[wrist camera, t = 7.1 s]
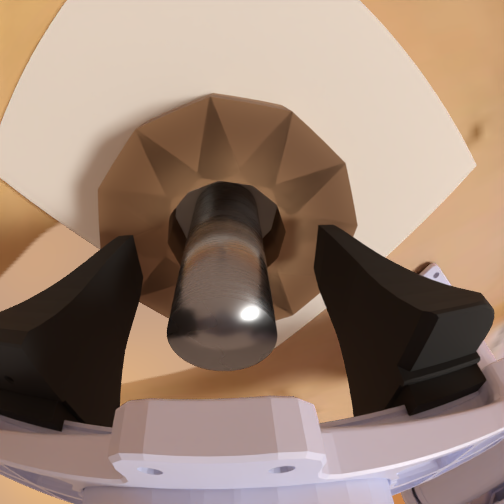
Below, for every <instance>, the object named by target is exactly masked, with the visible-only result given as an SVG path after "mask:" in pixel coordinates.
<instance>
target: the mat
mask: <svg viewBox="0 0 504 504" xmlns="http://www.w3.org/2000/svg"><path fill="white" fill-rule="evenodd" d="M212 93H217V94H224V95H231V96H237V97H243V98H249V99H254V100H260V101H265V102H270V103H275V104H279V105H283V106H284V107H286V108H288V109H289V110H291V111H293V113H295V114H296V115H297V116H298V117H299V118H300V119H301V120H302V121H303V122H304V123H305V124H306V125H307V126H309V127H310V128H311V129H312V130H313V131H314V132H315V133H316V134H317V135H318V136H319V137H320V138H321V139H322V140H323V141H324V142H325V143H326V144H327V145H328V146H329V147H330V148H331V149H332V150H333V151H334V152H335V153H336V154H337V155H338V156H339V157H340V158H341V159H342V160H343V161H344V162H345V163H346V167H347V172H348V177H349V181H350V186H351V191H352V197H353V202H354V207H355V213H356V219H357V225H358V226H357V229H356V231H355V234H354V236H353V237H354V238H355V239H357V240H358V241H360V242H361V243H363V244H364V245H366V246H367V247H369V248H370V249H372V250H374V251H375V252H377V253H378V254H380V255H382V256H383V257H386V256H387V255H389V254H390V253H391V252H392V251H393V250H394V249H395V248H396V247H397V246H398V245H399V244H400V243H401V242H403V241H404V240H405V239H406V238H407V237H408V236H409V235H410V234H411V233H412V232H413V231H414V230H415V229H416V228H417V227H418V226H419V225H420V224H421V223H422V222H423V221H424V220H425V219H426V218H427V217H428V216H429V215H430V214H431V213H432V212H433V211H434V210H435V209H436V208H437V207H438V206H439V205H440V204H441V203H442V202H443V201H444V200H445V199H446V198H447V197H448V196H449V195H450V194H451V193H452V192H453V191H454V190H455V189H456V187H457V186H458V185H459V184H460V183H461V182H462V181H463V180H464V179H465V178H466V177H467V176H468V174H469V173H470V172H471V171H472V170H473V169H474V168H475V167H476V166H477V165H476V163H475V161H474V159H473V157H472V155H471V153H470V151H469V149H468V147H467V145H466V143H465V141H464V140H463V138H462V136H461V134H460V132H459V130H458V129H457V127H456V125H455V123H454V122H453V120H452V118H451V117H450V115H449V113H448V112H447V110H446V108H445V107H444V105H443V104H442V102H441V100H440V99H439V97H438V96H437V94H436V93H435V91H434V90H433V88H432V87H431V85H430V84H429V82H428V81H427V80H426V78H425V77H424V75H423V74H422V73H421V71H420V70H419V68H418V67H417V66H416V64H415V63H414V62H413V61H412V59H411V58H410V57H409V55H408V54H407V53H406V52H405V50H404V49H403V48H402V47H401V45H400V44H399V43H398V42H397V40H396V39H395V38H394V37H393V36H392V35H391V33H390V32H389V31H388V30H387V29H386V28H385V27H384V25H383V24H382V23H381V22H380V21H379V20H378V19H377V18H376V17H375V16H374V15H373V14H372V13H371V11H370V10H369V9H368V8H367V7H366V6H365V5H364V4H363V3H362V2H361V1H360V0H67V1H66V2H65V4H64V5H63V6H62V8H61V9H60V11H59V12H58V14H57V15H56V17H55V18H54V20H53V21H52V23H51V24H50V26H49V27H48V29H47V31H46V32H45V34H44V35H43V37H42V39H41V40H40V42H39V44H38V46H37V47H36V49H35V51H34V53H33V54H32V56H31V58H30V60H29V62H28V64H27V66H26V68H25V69H24V71H23V73H22V75H21V78H20V80H19V82H18V84H17V86H16V88H15V90H14V92H13V95H12V97H11V99H10V102H9V104H8V106H7V109H6V111H5V114H4V116H3V119H2V121H1V124H0V178H1V179H2V180H4V181H5V182H6V183H7V184H9V185H10V186H11V187H13V188H14V189H15V190H16V191H18V192H19V193H20V194H22V195H23V196H24V197H26V198H27V199H28V200H30V201H31V202H32V203H34V204H35V205H37V206H38V207H39V208H41V209H42V210H43V211H45V212H46V213H48V214H49V215H50V216H52V217H53V218H55V219H56V220H57V221H59V222H60V223H62V224H63V225H65V226H66V227H67V228H69V229H70V230H72V231H73V232H75V233H76V234H78V235H79V236H81V237H82V238H84V239H85V240H87V241H88V242H90V243H91V244H93V245H94V246H96V247H97V248H99V249H100V235H99V216H98V188H99V186H100V185H101V183H102V181H103V179H104V178H105V176H106V174H107V173H108V171H109V169H110V168H111V166H112V164H113V163H114V161H115V160H116V158H117V156H118V155H119V153H120V152H121V150H122V149H123V147H124V145H125V144H126V142H127V141H128V139H129V138H130V136H131V135H132V133H133V132H134V130H135V129H136V128H138V127H139V126H141V125H142V124H144V123H145V122H147V121H148V120H150V119H152V118H154V117H156V116H159V115H161V114H163V113H165V112H168V111H170V110H172V109H174V108H177V107H179V106H182V105H184V104H186V103H189V102H191V101H194V100H196V99H199V98H201V97H204V96H207V95H209V94H212ZM219 182H225V181H217V182H214V183H212V184H209V185H206V186H203V187H201V188H198V189H196V190H193V191H190V192H188V193H187V194H186V196H185V197H184V198H183V199H182V201H181V202H180V203H179V204H178V206H177V207H176V219H177V221H178V223H179V225H180V227H181V228H182V230H183V232H184V234H185V236H186V238H187V236H188V232H189V228H190V224H191V220H192V216H193V212H194V209H195V205H196V201H197V199H198V197H199V195H200V194H201V193H202V192H203V191H204V190H205V189H206V188H207V187H209V186H210V185H213V184H215V183H219ZM237 184H239V183H237ZM240 185H242V186H244V187H245V188H246V189H248V190H249V191H250V192H251V194H252V195H253V197H254V198H255V201H256V204H257V209H258V215H259V221H260V227H261V233H262V238H263V237H264V236H265V235H266V234H267V233H268V232H269V231H270V230H271V228H272V224H273V220H274V217H275V213H276V209H277V205H276V204H275V203H274V202H273V201H271V200H270V199H269V198H268V197H266V196H265V195H264V194H263V193H261V192H260V191H259V190H258V189H256V188H255V187H254V186H252V185H245V184H240ZM325 309H326V306H325V304H324V301H323V299H322V296H321V294H320V293H319V294H318V295H317V296H316V297H315V298H313V299H312V300H311V301H310V302H309V303H307V304H306V305H305V306H304V307H303V308H301V309H300V310H299V311H298V312H297V313H295V314H294V315H293V316H290V317H286V318H283V319H280V320H276V327H277V335H278V336H277V342H276V345H275V347H274V349H275V348H276V347H277V346H279V345H280V344H281V343H283V342H284V341H285V340H287V339H288V338H289V337H291V336H292V335H293V334H294V333H296V332H297V331H298V330H300V329H301V328H302V327H304V326H305V325H306V324H307V323H309V322H310V321H311V320H312V319H314V318H315V317H316V316H317V315H319V314H320V313H321V312H322V311H324V310H325Z"/></svg>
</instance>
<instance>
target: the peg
mask: <svg viewBox="0 0 504 504" xmlns="http://www.w3.org/2000/svg"><path fill="white" fill-rule="evenodd" d="M277 336H278V335H277V327H276V320H275V314H274V308H273V301H272V295H271V289H270V282H269V276H268V270H267V264H266V258H265V251H264V245H263V239H262V233H261V227H260V221H259V215H258V209H257V204H256V201H255V198H254V197H253V195H252V194H251V192H250V191H249V190H248V189H246V188H245V187H244V186H242V185H240V184H237V183H232V182H219V183H215V184H213V185H210V186H209V187H207V188H206V189H205V190H204V191H203V192H202V193H201V194H200V195H199V197H198V199H197V201H196V205H195V209H194V212H193V216H192V220H191V224H190V228H189V232H188V236H187V240H186V244H185V249H184V253H183V257H182V261H181V266H180V270H179V274H178V279H177V283H176V288H175V293H174V297H173V302H172V307H171V312H170V317H169V322H168V327H167V338H168V342H169V344H170V346H171V348H172V349H173V350H174V352H175V353H176V354H177V355H178V356H180V357H181V358H182V359H183V360H185V361H187V362H189V363H190V364H192V365H195V366H197V367H200V368H204V369H208V370H214V371H233V370H239V369H244V368H247V367H250V366H253V365H255V364H257V363H259V362H260V361H262V360H263V359H265V358H266V357H267V356H268V355H269V354H270V353H271V352H272V350H273V349H274V347H275V345H276V342H277Z"/></svg>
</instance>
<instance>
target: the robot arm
mask: <svg viewBox="0 0 504 504" xmlns="http://www.w3.org/2000/svg"><path fill="white" fill-rule="evenodd" d="M314 272H315V277H316V281H317V284H318V288H319V291H320V294H321V296H322V299H323V301H324V304H325V306H326V308H327V311H328V313H329V316H330V318H331V321H332V323H333V326H334V328H335V331H336V334H337V337H338V340H339V343H340V347H341V351H342V355H343V359H344V364H345V368H346V373H347V378H348V383H349V388H350V394H351V400H352V407H353V414H354V417H352V418H347V419H341V420H336V421H330V422H325V423H319V421H318V417H317V413H316V409H315V406H314V405H313V404H311V403H309V402H306V401H304V400H301V399H299V398H296V397H294V396H260V397H246V398H226V399H152V398H151V399H141V400H131V401H128V402H126V403H125V404H123V405H122V406H120V391H121V379H122V369H123V362H124V354H125V349H126V344H127V341H128V337H129V333H130V330H131V326H132V323H133V320H134V317H135V313H136V310H137V307H138V303H139V300H140V295H141V290H142V283H143V274H142V270H141V266H140V262H139V258H138V254H137V250H136V245H135V241H134V237H133V235H124V236H118V237H116V238H115V239H113V240H112V241H111V242H109V243H108V244H107V245H105V246H104V247H103V248H102V249H100V250H99V251H98V252H97V253H95V254H94V255H93V256H92V257H91V258H89V259H88V260H87V261H86V262H84V263H83V264H82V265H80V266H79V267H78V268H76V269H75V270H74V271H72V272H71V273H70V274H69V275H67V276H66V277H64V278H63V279H61V280H60V281H58V282H57V283H55V284H54V285H52V286H51V287H49V288H48V289H46V290H44V291H42V292H40V293H39V294H37V295H35V296H33V297H32V298H30V299H28V300H26V301H24V302H22V303H20V304H18V305H15V306H13V307H11V308H9V309H6V310H4V311H1V312H0V474H1V475H3V476H5V477H7V478H9V479H12V480H14V481H16V482H18V483H21V484H23V485H25V486H28V487H30V488H32V489H35V490H37V491H40V492H42V493H45V494H47V495H50V496H53V497H56V498H59V499H61V500H64V501H67V502H71V503H74V504H394V502H393V498H392V495H395V494H397V493H400V492H401V495H402V497H403V500H404V502H405V503H406V504H504V358H502V359H500V360H498V361H497V360H496V359H495V357H494V355H493V354H492V352H491V351H490V349H489V347H488V346H487V344H486V343H485V341H484V339H485V337H486V335H487V334H488V332H489V330H490V328H491V326H492V324H493V320H494V309H493V308H492V306H491V305H490V304H489V302H488V301H487V300H486V299H485V297H484V296H483V295H482V294H481V293H479V292H474V291H470V290H465V289H461V288H457V287H453V286H451V284H450V283H449V281H448V280H447V278H446V277H445V275H444V274H443V272H442V271H441V269H440V268H439V267H438V265H437V264H436V263H432V264H430V265H428V266H427V267H426V268H425V269H424V270H423V271H422V272H421V273H420V274H417V273H414V272H412V271H410V270H408V269H406V268H404V267H402V266H400V265H398V264H396V263H394V262H392V261H390V260H389V259H387V258H385V257H383V256H382V255H380V254H378V253H377V252H375V251H374V250H372V249H370V248H369V247H367V246H366V245H364V244H363V243H361V242H360V241H358V240H357V239H355V238H354V237H352V236H351V235H349V234H348V233H346V232H345V231H343V230H342V229H340V228H339V227H337V226H335V225H318V233H317V242H316V251H315V260H314Z"/></svg>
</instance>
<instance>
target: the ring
mask: <svg viewBox="0 0 504 504" xmlns="http://www.w3.org/2000/svg"><path fill="white" fill-rule="evenodd" d="M217 181H225V182H232V183H239V184H245V185H252V186H254V187H255V188H256V189H258V190H259V191H260V192H261V193H263V194H264V195H265V196H266V197H268V198H269V199H270V200H271V201H273V202H274V203H275V204H276V205H277V209H276V213H275V217H274V220H273V224H272V228H271V230H270V231H269V232H268V233H267V234H266V235H265V236H264V237H263V238H262V239H263V245H264V251H265V258H266V264H267V270H268V276H269V282H270V289H271V295H272V301H273V308H274V314H275V320H280V319H283V318H286V317H290V316H293V315H294V314H295V313H297V312H298V311H299V310H300V309H301V308H303V307H304V306H305V305H306V304H307V303H309V302H310V301H311V300H312V299H313V298H315V297H316V296H317V295H318V294H319V293H320V291H319V288H318V284H317V281H316V277H315V272H314V260H315V251H316V242H317V233H318V225H335V226H337V227H339V228H340V229H342V230H343V231H345V232H346V233H348V234H349V235H351V236H352V237H353V236H354V234H355V231H356V229H357V226H358V225H357V219H356V213H355V207H354V202H353V197H352V191H351V186H350V181H349V177H348V172H347V167H346V163H345V162H344V161H343V160H342V159H341V158H340V157H339V156H338V155H337V154H336V153H335V152H334V151H333V150H332V149H331V148H330V147H329V146H328V145H327V144H326V143H325V142H324V141H323V140H322V139H321V138H320V137H319V136H318V135H317V134H316V133H315V132H314V131H313V130H312V129H311V128H310V127H309V126H307V125H306V124H305V123H304V122H303V121H302V120H301V119H300V118H299V117H298V116H297V115H296V114H295V113H293V111H291V110H289V109H288V108H286V107H284V106H283V105H279V104H275V103H270V102H265V101H260V100H254V99H249V98H243V97H237V96H231V95H224V94H217V93H212V94H209V95H207V96H204V97H201V98H199V99H196V100H194V101H191V102H189V103H186V104H184V105H182V106H179V107H177V108H174V109H172V110H170V111H168V112H165V113H163V114H161V115H159V116H156V117H154V118H152V119H150V120H148V121H147V122H145V123H144V124H142V125H141V126H139V127H138V128H136V129H135V130H134V132H133V133H132V135H131V136H130V138H129V139H128V141H127V142H126V144H125V145H124V147H123V149H122V150H121V152H120V153H119V155H118V156H117V158H116V160H115V161H114V163H113V164H112V166H111V168H110V169H109V171H108V173H107V174H106V176H105V178H104V179H103V181H102V183H101V185H100V186H99V188H98V216H99V235H100V249H102V248H103V247H104V246H105V245H107V244H108V243H109V242H111V241H112V240H113V239H115V238H116V237H118V236H124V235H133V237H134V241H135V245H136V250H137V254H138V258H139V262H140V266H141V270H142V274H143V283H142V290H141V295H140V300H139V302H140V303H142V304H144V305H146V306H148V307H149V308H151V309H153V310H155V311H156V312H158V313H160V314H162V315H164V316H165V317H167V318H169V317H170V312H171V307H172V302H173V297H174V293H175V288H176V283H177V279H178V274H179V270H180V266H181V261H182V257H183V253H184V249H185V244H186V240H187V238H186V236H185V234H184V232H183V230H182V228H181V227H180V225H179V223H178V221H177V219H176V207H177V206H178V204H179V203H180V202H181V201H182V199H183V198H184V197H185V196H186V194H187V193H188V192H190V191H193V190H196V189H198V188H201V187H203V186H206V185H209V184H212V183H214V182H217Z"/></svg>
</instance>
